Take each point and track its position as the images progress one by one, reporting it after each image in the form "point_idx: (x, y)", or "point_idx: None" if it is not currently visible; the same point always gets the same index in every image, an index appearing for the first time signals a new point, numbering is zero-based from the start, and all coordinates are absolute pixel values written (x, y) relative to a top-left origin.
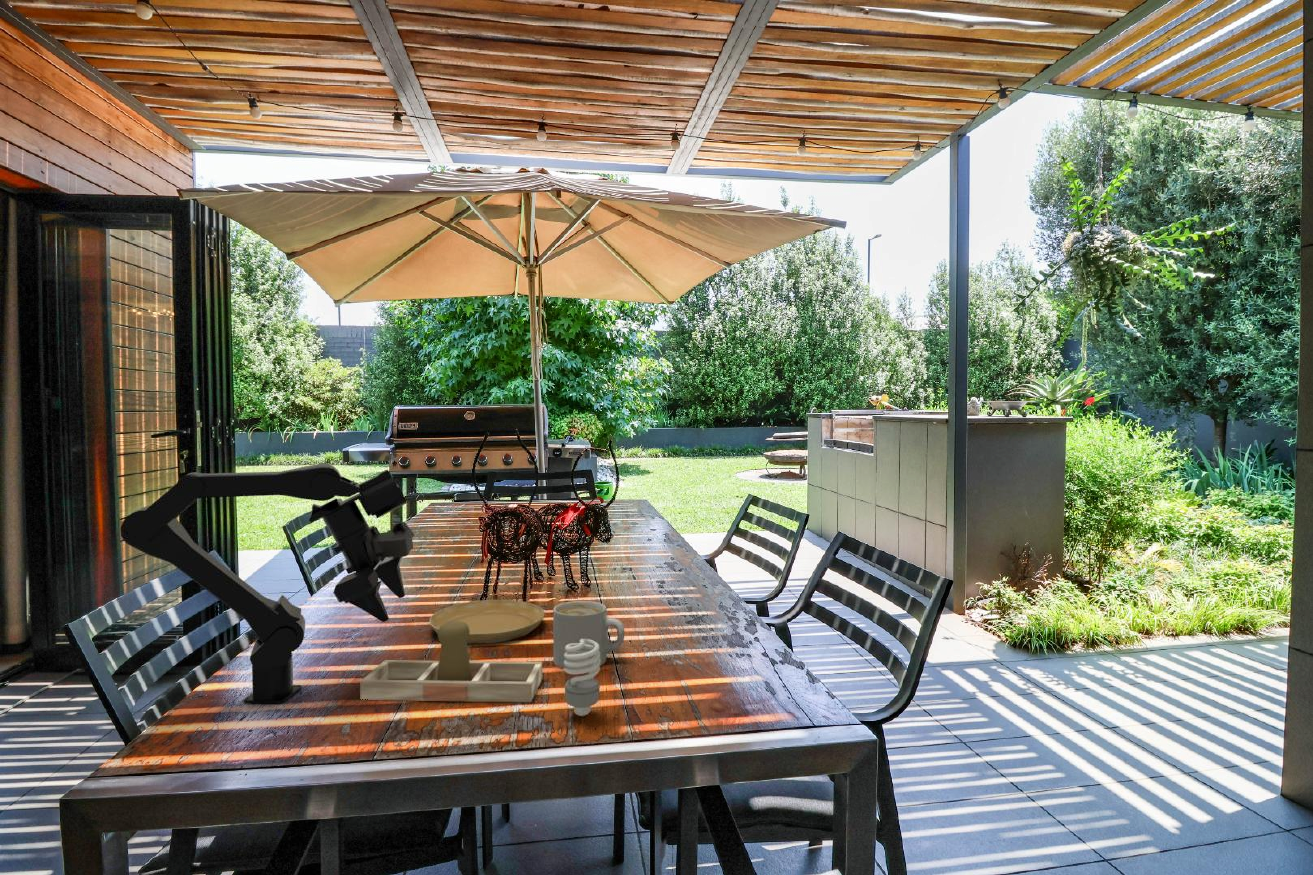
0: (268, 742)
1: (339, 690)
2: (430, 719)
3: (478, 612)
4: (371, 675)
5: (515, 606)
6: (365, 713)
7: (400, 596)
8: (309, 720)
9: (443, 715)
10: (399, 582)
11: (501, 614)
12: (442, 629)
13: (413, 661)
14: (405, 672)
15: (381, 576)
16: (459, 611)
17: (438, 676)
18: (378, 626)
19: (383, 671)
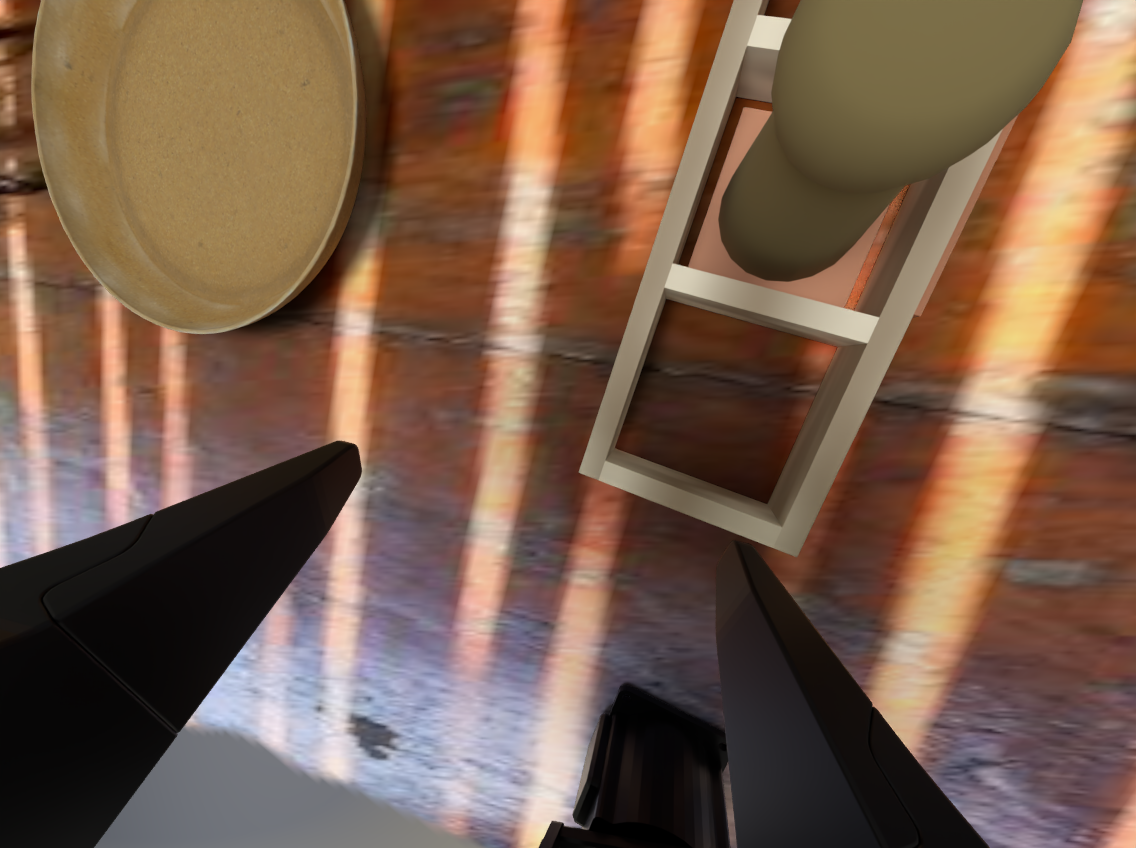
0: (1059, 784)
1: (670, 587)
2: (1104, 284)
3: (108, 182)
4: (739, 518)
5: (75, 30)
6: (920, 513)
7: (354, 471)
8: (909, 672)
9: (1081, 234)
10: (254, 517)
11: (123, 98)
12: (1006, 105)
13: (626, 368)
14: (630, 396)
15: (165, 716)
16: (110, 243)
17: (830, 255)
18: (188, 484)
19: (650, 472)
